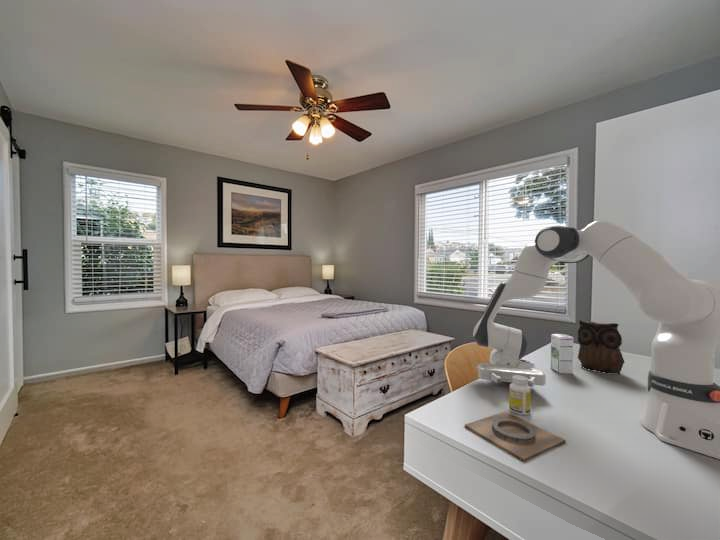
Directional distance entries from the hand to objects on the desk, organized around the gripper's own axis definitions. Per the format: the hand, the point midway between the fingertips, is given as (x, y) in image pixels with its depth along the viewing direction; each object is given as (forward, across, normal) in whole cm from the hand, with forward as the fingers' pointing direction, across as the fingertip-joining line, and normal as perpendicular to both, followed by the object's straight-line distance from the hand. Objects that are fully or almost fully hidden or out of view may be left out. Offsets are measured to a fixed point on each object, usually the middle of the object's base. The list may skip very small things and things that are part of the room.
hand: (514, 382), depth 96 cm
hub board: (+22, -4, +5) cm, 23 cm away
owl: (-44, +41, +6) cm, 60 cm away
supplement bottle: (+8, 0, +6) cm, 10 cm away
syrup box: (-36, +24, +6) cm, 43 cm away
